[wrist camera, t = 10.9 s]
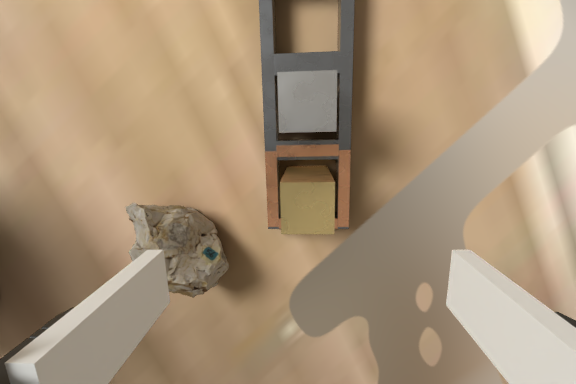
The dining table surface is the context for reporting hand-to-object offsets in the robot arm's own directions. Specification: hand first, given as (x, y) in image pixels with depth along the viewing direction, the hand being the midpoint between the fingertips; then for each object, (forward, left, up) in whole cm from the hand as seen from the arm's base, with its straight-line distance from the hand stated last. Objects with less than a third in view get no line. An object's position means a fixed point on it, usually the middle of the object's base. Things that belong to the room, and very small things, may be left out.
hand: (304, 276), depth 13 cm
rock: (-14, -6, -21) cm, 26 cm away
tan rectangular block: (0, 0, -21) cm, 21 cm away
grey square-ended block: (0, +9, -21) cm, 23 cm away
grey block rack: (0, +9, -21) cm, 23 cm away
